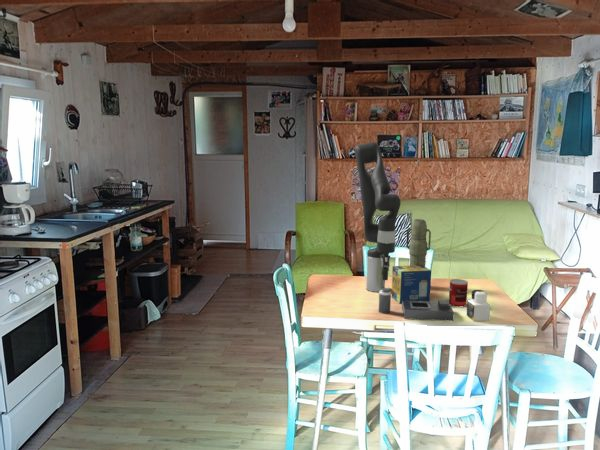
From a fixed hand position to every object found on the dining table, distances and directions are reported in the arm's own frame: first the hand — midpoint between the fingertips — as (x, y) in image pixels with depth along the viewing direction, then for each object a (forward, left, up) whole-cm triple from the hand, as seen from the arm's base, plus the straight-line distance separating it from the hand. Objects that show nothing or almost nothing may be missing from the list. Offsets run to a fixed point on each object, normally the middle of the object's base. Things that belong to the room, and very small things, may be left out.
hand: (384, 277), depth 224 cm
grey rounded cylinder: (0, 0, -15) cm, 15 cm away
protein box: (-20, +13, -16) cm, 29 cm away
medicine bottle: (+3, +39, -16) cm, 42 cm away
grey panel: (+1, +18, -15) cm, 24 cm away
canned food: (-16, +34, -16) cm, 41 cm away
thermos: (-43, +18, -16) cm, 49 cm away
